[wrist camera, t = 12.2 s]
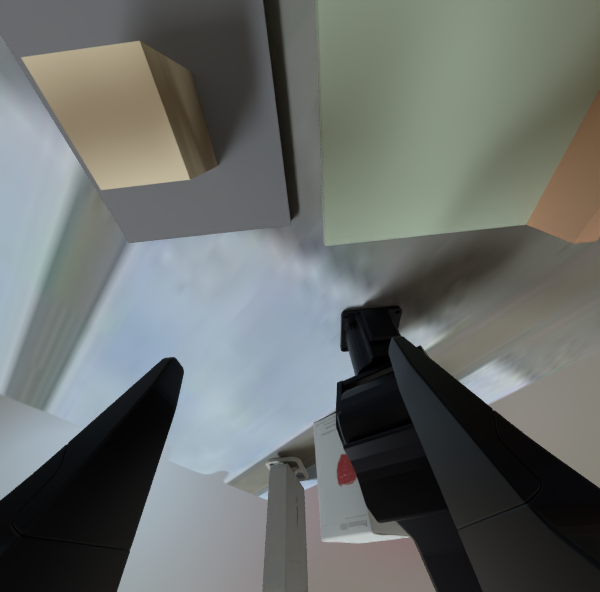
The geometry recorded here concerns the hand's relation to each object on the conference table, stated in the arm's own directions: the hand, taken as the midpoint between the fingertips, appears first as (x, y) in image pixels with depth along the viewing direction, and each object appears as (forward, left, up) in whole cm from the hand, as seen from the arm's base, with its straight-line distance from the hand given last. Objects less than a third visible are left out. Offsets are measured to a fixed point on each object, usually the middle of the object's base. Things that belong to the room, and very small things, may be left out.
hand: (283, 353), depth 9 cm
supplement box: (-37, -6, -12) cm, 39 cm away
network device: (-64, +8, -12) cm, 65 cm away
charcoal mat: (+8, +6, -12) cm, 16 cm away
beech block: (+8, +6, -11) cm, 15 cm away
